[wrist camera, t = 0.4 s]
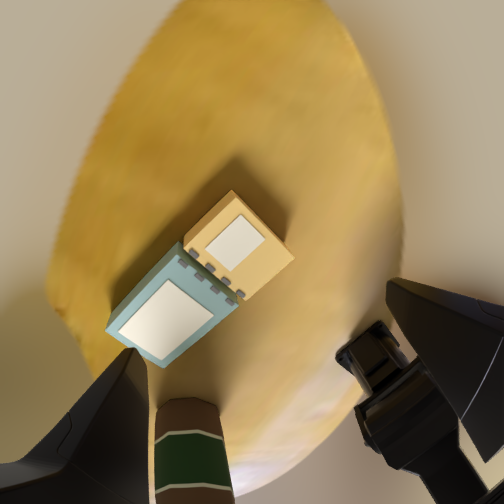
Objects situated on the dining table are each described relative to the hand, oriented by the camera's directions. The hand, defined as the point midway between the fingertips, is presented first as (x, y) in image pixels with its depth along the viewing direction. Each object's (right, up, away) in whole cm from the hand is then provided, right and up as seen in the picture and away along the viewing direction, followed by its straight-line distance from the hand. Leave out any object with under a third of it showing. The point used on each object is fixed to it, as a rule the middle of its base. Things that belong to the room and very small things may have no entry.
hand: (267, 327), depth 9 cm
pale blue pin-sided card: (-7, -2, +13) cm, 15 cm away
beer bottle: (-8, -16, +20) cm, 27 cm away
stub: (-2, +3, +12) cm, 13 cm away
